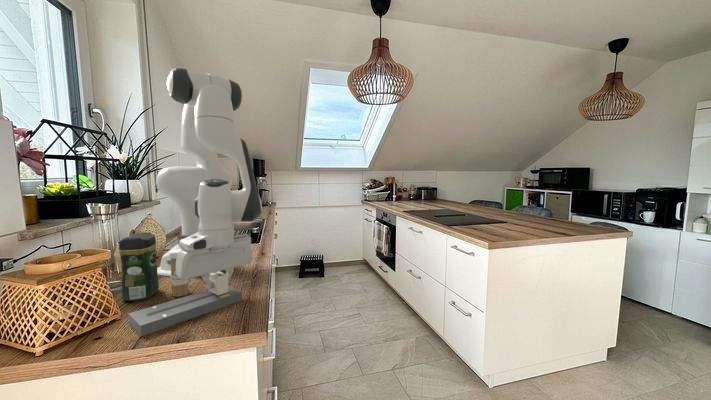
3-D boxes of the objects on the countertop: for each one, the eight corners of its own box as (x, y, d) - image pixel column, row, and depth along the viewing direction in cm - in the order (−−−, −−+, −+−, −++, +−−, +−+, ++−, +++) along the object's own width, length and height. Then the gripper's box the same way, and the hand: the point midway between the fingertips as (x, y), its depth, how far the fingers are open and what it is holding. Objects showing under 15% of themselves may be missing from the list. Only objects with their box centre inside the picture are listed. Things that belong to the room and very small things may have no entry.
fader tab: (217, 295, 78) (217, 277, 77) (209, 290, 81) (208, 273, 80) (228, 292, 80) (227, 274, 80) (219, 287, 83) (219, 270, 83)
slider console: (140, 336, 63) (140, 325, 62) (129, 323, 68) (128, 313, 68) (242, 300, 81) (242, 291, 81) (226, 292, 87) (226, 284, 87)
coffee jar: (132, 290, 88) (129, 231, 86) (162, 288, 90) (159, 230, 89) (116, 304, 78) (112, 238, 77) (149, 300, 81) (146, 236, 79)
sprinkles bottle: (172, 298, 82) (170, 253, 81) (171, 293, 86) (169, 249, 85) (190, 294, 85) (188, 250, 84) (188, 289, 89) (187, 247, 88)
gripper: (245, 231, 89) (246, 273, 90) (171, 242, 73) (174, 294, 74) (256, 233, 85) (257, 278, 86) (181, 246, 69) (184, 300, 70)
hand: (218, 285), depth 80 cm, fingers closed on fader tab, 3 cm apart
